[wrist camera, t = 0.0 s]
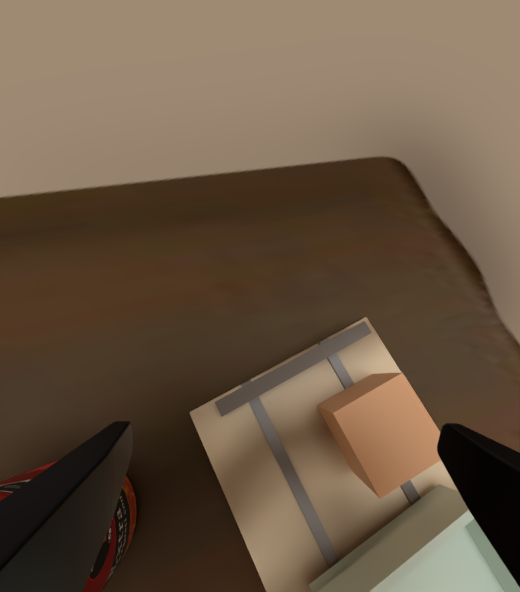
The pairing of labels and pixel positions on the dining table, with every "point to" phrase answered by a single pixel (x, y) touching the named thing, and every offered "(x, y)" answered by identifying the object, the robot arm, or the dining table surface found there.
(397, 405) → the block
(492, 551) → the tray with handle
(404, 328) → the dining table surface
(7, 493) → the canned food
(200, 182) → the dining table surface
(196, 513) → the dining table surface
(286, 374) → the track
